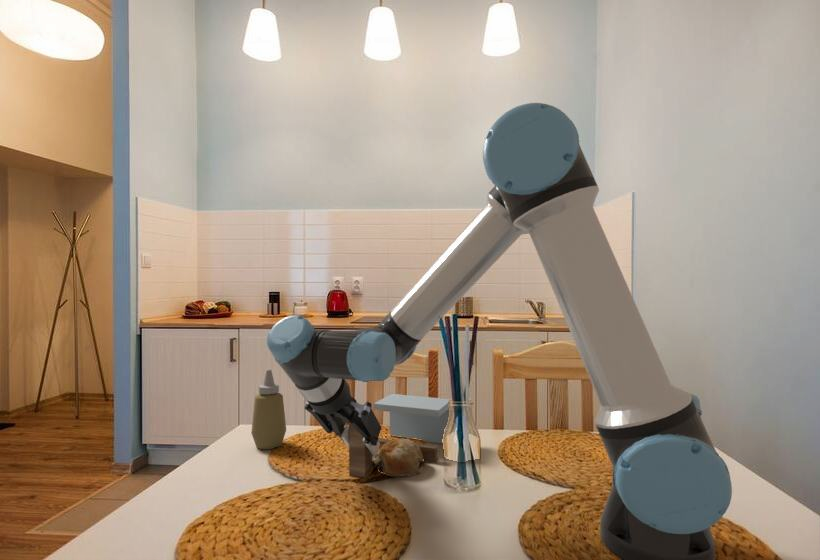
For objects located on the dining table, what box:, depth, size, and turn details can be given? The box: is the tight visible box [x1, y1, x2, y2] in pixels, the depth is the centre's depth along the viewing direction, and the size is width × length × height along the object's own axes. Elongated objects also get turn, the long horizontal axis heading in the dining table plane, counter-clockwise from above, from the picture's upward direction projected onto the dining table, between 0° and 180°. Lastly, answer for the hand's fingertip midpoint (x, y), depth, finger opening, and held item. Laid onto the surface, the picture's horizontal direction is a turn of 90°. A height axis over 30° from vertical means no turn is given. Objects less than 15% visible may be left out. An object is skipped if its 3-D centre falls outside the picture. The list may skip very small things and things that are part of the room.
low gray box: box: [373, 393, 450, 444], centre depth 115 cm, size 10×16×10 cm, turn 68°
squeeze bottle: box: [251, 369, 287, 450], centre depth 115 cm, size 8×8×18 cm
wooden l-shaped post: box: [348, 423, 439, 478], centre depth 101 cm, size 14×15×12 cm
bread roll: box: [373, 438, 424, 478], centre depth 101 cm, size 10×10×8 cm
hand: (366, 448), depth 100 cm, fingers open, 4 cm apart
